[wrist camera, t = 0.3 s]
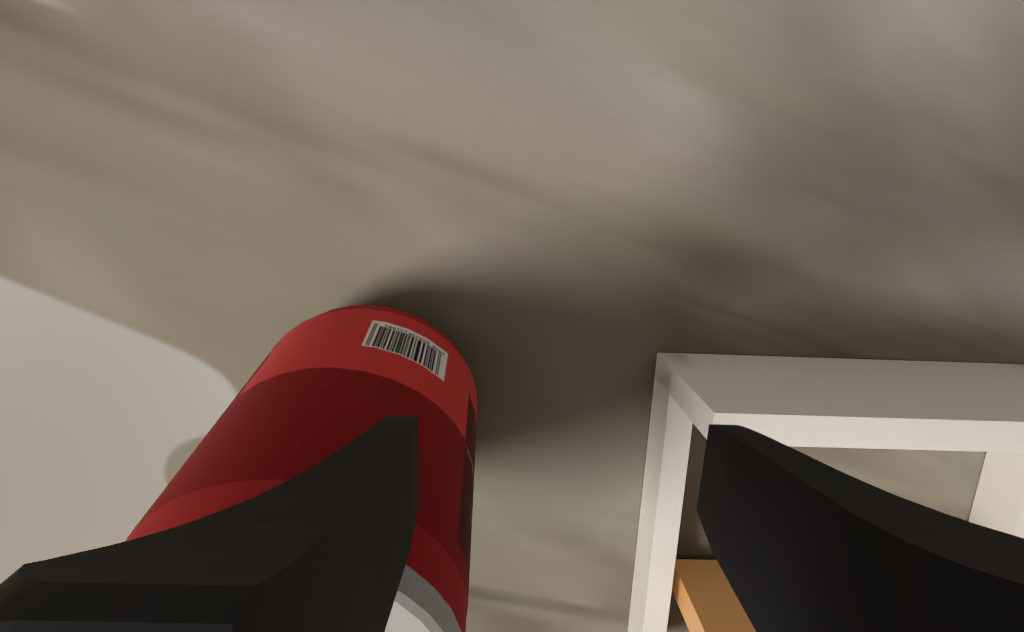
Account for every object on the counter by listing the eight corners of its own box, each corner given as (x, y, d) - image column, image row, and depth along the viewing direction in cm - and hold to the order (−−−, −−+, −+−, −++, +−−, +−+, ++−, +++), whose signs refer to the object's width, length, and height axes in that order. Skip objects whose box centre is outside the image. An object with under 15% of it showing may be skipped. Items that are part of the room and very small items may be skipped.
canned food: (238, 320, 20) (-22, 588, 10) (451, 277, 19) (402, 514, 9) (313, 478, 23) (175, 797, 13) (497, 445, 23) (497, 752, 13)
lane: (958, 638, 25) (1094, 773, 20) (627, 633, 25) (666, 769, 19) (1033, 364, 22) (1222, 427, 16) (657, 352, 22) (713, 412, 16)
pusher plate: (946, 588, 24) (1086, 714, 19) (668, 582, 24) (722, 709, 18) (952, 565, 24) (1096, 685, 18) (671, 559, 24) (727, 680, 18)
